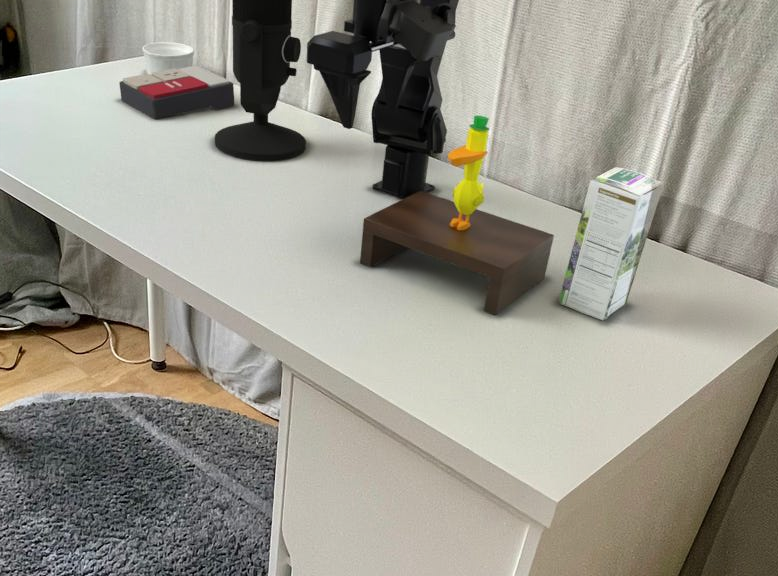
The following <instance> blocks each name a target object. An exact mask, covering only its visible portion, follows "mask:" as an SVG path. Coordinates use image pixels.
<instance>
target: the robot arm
mask: <svg viewBox="0 0 778 576" xmlns="http://www.w3.org/2000/svg"><path fill="white" fill-rule="evenodd" d="M459 2H460V0H419V2H418V1H417V0H353V3H352V19H348V20H344V23H343V31H344V32H346V33H344V32H339V31H335V30H331V31H327V32H323V33H319V34H316V35H313V36H312V37H311V38H310V39H309V40H308V42H307V43H306V44H307V45H306V63H307V64H309V65H312V66H313V69H314V71H318V72H319V73H320V75H321V78H322V80H323V81H324V84H325V86H326V88H327V91H328V92H329V95H330V97H331V100H332V103H333V104H334V106H335V110H336V112H337V114H338V118H339V120H340V123H341V126H342V127H343V128H345V129H347V130H351V129H353V127H354V122H355V118H356V113H357V106H358V99H359V92H360V85H361V83H362V82H363V81H365V80H366V78H368V76H369V75H370V74H371V73H372V71H371V70H368V68H369V66H370V64H371V62H372V58H373V57H372V56H373V52H377V51H379V59H380V67H381V75H382V76H381V77H382V78H381V84H380V87H379V91H378V94H377V95H376V97H375V99H374V101H373V103H372V108H371V115H370V116H371V127H372V129H371V130H372V141H373V143H374V144H382V145H386V146H385V150H384V160H383V167H382V177H381V180H380V181H377V182H375V183H373V184H372V186H371V187H372V189H373V190H375V191H378V192H380V193H383V194H387V195H390V196H393V197H396V198H398V199H400V200H402V199H405V198H407V197H409V196H411V195H413V194H415V193H417V192H419V191H423V192H426V193H429V194H430V192H433V191H435V188H436V186H435V185H434V184H431V183H429V182H427V174H428V167H429V159H430V157H432V156H434V154H435V155H436V154H437V155H438V154H442V153H444V146H445V143H446V140H447V134H448V129H447V126H446V122H445V120H444V116H443V113H442V109H441V108H442V104H443V97H442V92H441V89H440V83H439V79H438V73H439V69H440V66H441V62H442V59H443V56H444V53H445V49H446V45H447V42H449V41H451V40H454V39H455V37H456V32H455V29H456V27H457V25H456V17H457V16H456V15H457V8H458V4H459ZM347 33H350V34H347ZM351 34H353V35H351Z"/></svg>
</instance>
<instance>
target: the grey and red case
mask: <svg viewBox="0 0 778 576" xmlns="http://www.w3.org/2000/svg"><path fill="white" fill-rule="evenodd" d="M151 74H152V75H150V74H148V73H144V74H143V73H142V74H139V75H134V76H128V77H124V78H122V81H119V82H118V83H119V84H118V85H119V90H120V91H119V92H120V98H121V102H124V103H125V104H127V105H129V106H131V107H132V108H134V109H136V110H137V111H139V112H141V113H142V114H145V115H147V116H148V117H150V118H152V119H154V120H158V119H163V118H167V117H173V116H176V115H182V114H186V113H190V112H194V111H200V110H204V109H208V108H212V109H213V110H220V109H225V108H230V107H233V106H235V90H234V83H233V82H232V81H230V80H229V79H227V78H225V77H223V76H220V75H218V74H217V73H214V72H212V71H209V70H208V69H206V68H203V67H202V66H199V65H192V66H191V67H186V68H181V69H179V70H178V69H176V68H175V69H169V70H164V71H159V72H154V73H151Z"/></svg>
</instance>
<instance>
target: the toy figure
mask: <svg viewBox="0 0 778 576" xmlns="http://www.w3.org/2000/svg"><path fill="white" fill-rule="evenodd" d="M489 120H490V118H489V117H486V116H483V115H474V116H473V124H469V129H468V130H467V135H466V144H465V145H463V146H459V147H457V148H454V149H452V150H451V151H450V152H449V153H448V155H447V158H448V161H449V162H450V164H451V166H454V167H457V168H458V167H462V166H464V167H463V168H464V169H463V171H464V172H463V179H462V180H461V181H460V182H459V183H458V184H456V186H455V187H454V190H453V191H452V194H451V197H453V202H454V203H455V205H456V208H457V210H458V211H459V212H460V213H459V218H453V219H452V221H451V223H450V226H451V227H457V229H458V230H465V229H467V228H468V227H470V225H471V224H470V223H469V216H470V214H472V213H473V212H474V210H475V209H478V207H479V206H480V205H482V204H483V203H484V201H485V200H484V199H485V194H484V193H483V191H484V190H483V189H484V184H485V183H484V182H482V183H480V182H479V180H478V179H479V176H480V172H481V168H482V164H483V161H484V159H485V157H486V155H487V154H488V153H489V152H488V150H487V149H486V148H487V143H488V136H489V131H490V128H489V127H487V125H488V123H489ZM463 214H465V215H466V220H465V221H464V220H463V219H462V215H463Z"/></svg>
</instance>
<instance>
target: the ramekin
mask: <svg viewBox="0 0 778 576" xmlns="http://www.w3.org/2000/svg"><path fill="white" fill-rule="evenodd" d="M142 53H143V57H144V63H145V71H146V74H150V75H152V74H151V73H154V72H159V71H164V70H169V69H175V68H176V69H178V70H179V69H181V68H186V67H191V66H193V60H194V55H195V49H194V48H193V47H192V46H190V45H188V44H186V43H185V44H184V43H179V42H173V41H172V42H171V41H156V42H151V43H150V42H149V43H147V44H145V45H143V46H142Z"/></svg>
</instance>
